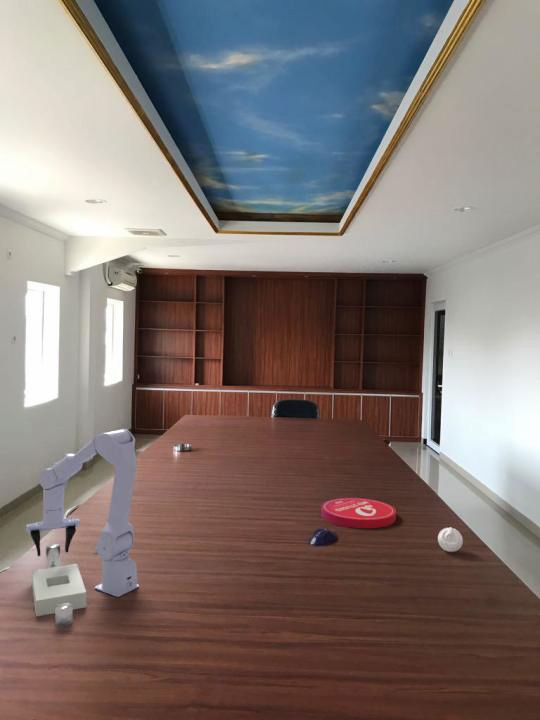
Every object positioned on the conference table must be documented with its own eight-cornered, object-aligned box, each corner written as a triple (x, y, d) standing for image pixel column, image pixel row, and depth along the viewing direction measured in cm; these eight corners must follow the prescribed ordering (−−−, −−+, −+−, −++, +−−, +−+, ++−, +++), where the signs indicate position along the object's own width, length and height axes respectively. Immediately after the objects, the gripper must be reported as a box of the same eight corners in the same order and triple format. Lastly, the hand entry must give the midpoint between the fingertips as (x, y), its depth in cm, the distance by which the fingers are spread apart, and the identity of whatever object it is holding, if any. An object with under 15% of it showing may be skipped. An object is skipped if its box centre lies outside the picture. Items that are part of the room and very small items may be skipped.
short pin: (76, 621, 134) (76, 605, 134) (62, 628, 130) (62, 612, 130) (65, 617, 136) (65, 601, 136) (51, 624, 132) (51, 607, 132)
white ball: (437, 553, 183) (437, 530, 183) (438, 545, 190) (438, 523, 190) (462, 556, 181) (462, 533, 180) (462, 548, 188) (463, 526, 188)
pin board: (86, 607, 141) (86, 592, 141) (35, 616, 136) (35, 600, 136) (76, 577, 159) (76, 563, 159) (31, 584, 154) (32, 570, 154)
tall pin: (63, 572, 163) (63, 545, 162) (51, 576, 159) (51, 549, 159) (54, 569, 165) (54, 542, 164) (42, 573, 161) (43, 546, 161)
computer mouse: (298, 542, 192) (298, 531, 192) (323, 532, 203) (323, 521, 203) (319, 549, 186) (320, 537, 186) (344, 538, 197) (344, 527, 197)
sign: (306, 514, 224) (363, 534, 201) (306, 506, 224) (363, 525, 201) (353, 502, 244) (410, 518, 221) (353, 494, 244) (410, 510, 221)
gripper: (77, 501, 168) (76, 545, 169) (26, 506, 162) (25, 551, 162) (80, 507, 162) (79, 553, 162) (27, 513, 155) (26, 560, 156)
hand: (52, 553), depth 162 cm, fingers open, 7 cm apart
